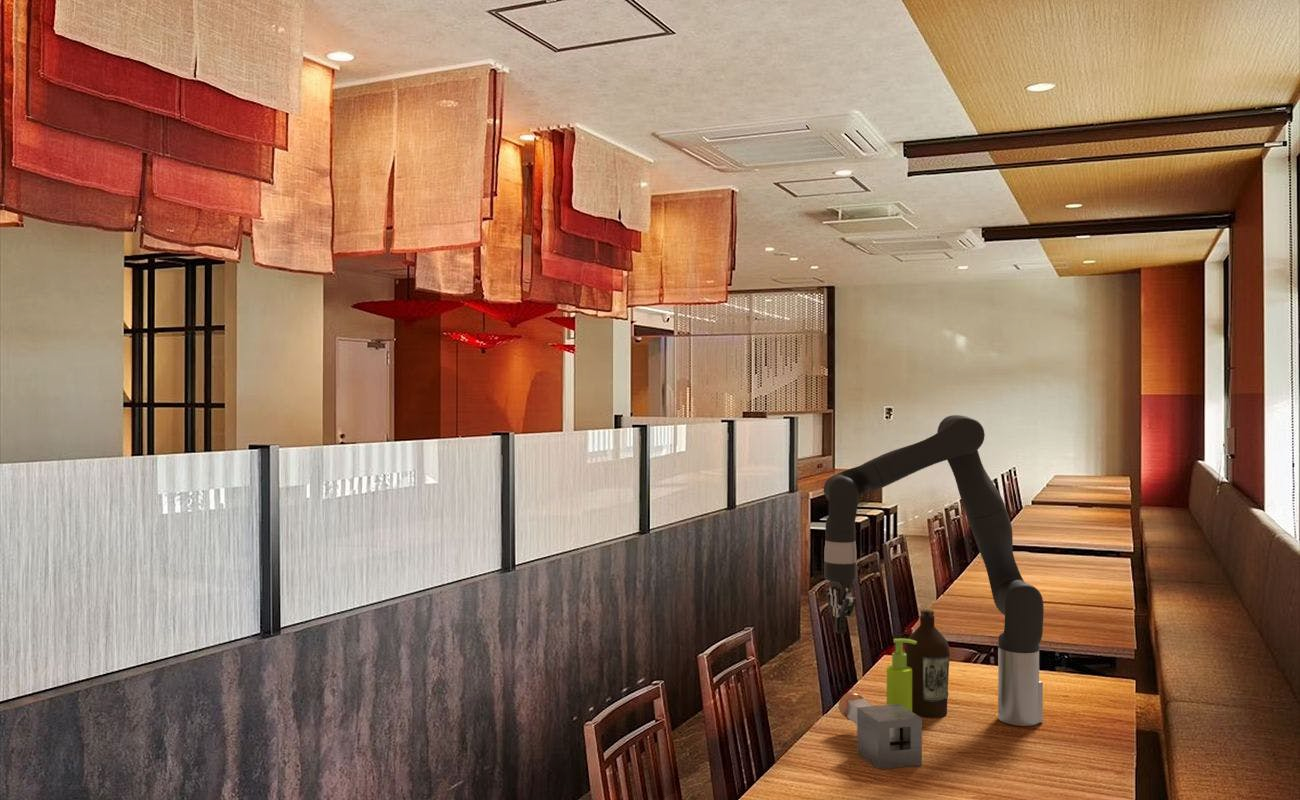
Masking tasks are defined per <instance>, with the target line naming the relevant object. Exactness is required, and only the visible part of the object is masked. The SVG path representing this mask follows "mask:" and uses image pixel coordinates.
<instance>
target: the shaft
mask: <svg viewBox="0 0 1300 800" xmlns="http://www.w3.org/2000/svg"><path fill="white" fill-rule="evenodd" d="M869 706H875V705H874V704H872V703H871V702H869V701H868V700H866V699H865V698H864V697H863V696H861V695H860V694H858V692H854V691H851V692H847V693H845V694H843V696H841V698H840V699H839V701H838V711H839V713H840V714H841V715H842V716H843V717H844V718H846V719H847V720H849V721H851V722H853V723H854V724H855V725H857V707H869ZM898 741H900V728H890V742H898Z"/></svg>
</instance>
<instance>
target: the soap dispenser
mask: <svg viewBox="0 0 1300 800" xmlns="http://www.w3.org/2000/svg"><path fill="white" fill-rule="evenodd" d="M892 640H893V644H895V650H894V652H892V653H891V665H888V666H886V705H893V704H900V705H902V706H903V707H905V708H907V709H908V710H910V711H911V712H912V668H911V667H908V666H907V654H906V653H905V651H904V644H906V643H911V644H916V643H917V641H915V640H912V639H908V638H905V637H904V638H903V637H902V638H893V639H892Z"/></svg>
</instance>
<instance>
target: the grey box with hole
mask: <svg viewBox="0 0 1300 800" xmlns="http://www.w3.org/2000/svg"><path fill="white" fill-rule="evenodd" d="M856 726H857V727H856V729H857V732H856V736H857V737H856V738H857V740H856V742H857V744H856V746H857V749H856V750H857V751H856V752H857V755H859V756H860V757H861V758H862V759H864V760H865V761H867V763H869V764H871V765H872V766H873V767H874V768H876V770H878V771H879V770H887V769H898V768H909V767H915V766H916V767H918V766H922V765H923V717H920V716H918V715H916V714H915V713H913V712H911V711H910V710H908V709H907V708H905V707H903V706H902V705H900V704H893V705H887V704H885V705H874V706H869V707H857V724H856ZM890 728H900V741H898V742H890Z"/></svg>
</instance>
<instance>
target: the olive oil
mask: <svg viewBox="0 0 1300 800" xmlns="http://www.w3.org/2000/svg"><path fill="white" fill-rule="evenodd" d="M934 614H935V610H933V609H920V616H919V623H920V624H919V626H918V627H917V628H916V629H915V630H914V631H913V632H912V633H911V634H910V635H909V637H908V638H907V639H912V640H915V641H917V643H916V644H911V643H905V646H904V652H905V653H906V654H907V666H908V667H911V668H912V712H913V713H915V714H916V715H918V716H920V717H921V718H925V719H935V718H936V719H938V718H944V717H945V716H947V714H948V698H949V673H950V656H951V654H950V653H951V652H950V651H951V650H950V646H949V643H948V641H947V639H946V638H945V637H944V635H942V633H941V632H940V631H939V630H938V629H937V628H936V626H935V616H934Z"/></svg>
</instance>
